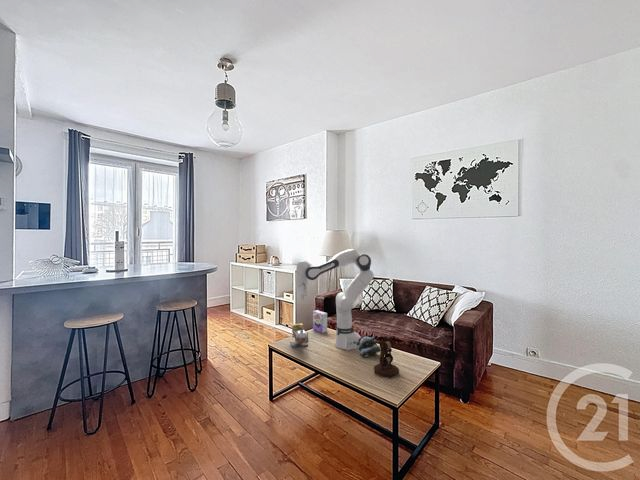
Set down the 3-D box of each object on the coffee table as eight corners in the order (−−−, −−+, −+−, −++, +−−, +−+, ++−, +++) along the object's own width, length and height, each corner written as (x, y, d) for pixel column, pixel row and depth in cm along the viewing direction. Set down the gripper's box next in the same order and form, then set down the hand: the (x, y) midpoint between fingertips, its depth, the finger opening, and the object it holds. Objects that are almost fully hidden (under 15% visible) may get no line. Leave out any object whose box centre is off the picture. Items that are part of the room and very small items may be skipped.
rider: (304, 335, 216) (304, 328, 216) (305, 338, 211) (305, 330, 211) (297, 336, 215) (297, 329, 215) (298, 338, 210) (298, 331, 210)
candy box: (312, 329, 262) (312, 310, 262) (317, 328, 266) (317, 309, 266) (322, 333, 251) (322, 314, 251) (327, 332, 255) (327, 312, 255)
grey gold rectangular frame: (305, 340, 234) (304, 323, 234) (311, 353, 210) (311, 333, 210) (289, 342, 232) (289, 324, 231) (294, 354, 207) (294, 334, 207)
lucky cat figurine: (359, 358, 199) (353, 337, 205) (361, 359, 210) (355, 339, 216) (381, 353, 198) (374, 332, 204) (381, 353, 209) (375, 333, 215)
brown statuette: (381, 365, 190) (381, 334, 190) (403, 371, 181) (403, 339, 180) (369, 373, 179) (369, 340, 178) (392, 381, 169) (392, 346, 169)
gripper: (309, 283, 222) (309, 302, 222) (303, 279, 242) (303, 296, 242) (300, 284, 221) (300, 302, 221) (296, 280, 240) (296, 297, 241)
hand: (302, 299), depth 232 cm, fingers closed
